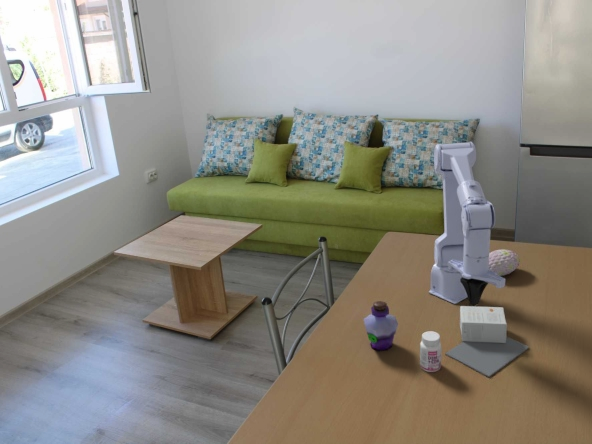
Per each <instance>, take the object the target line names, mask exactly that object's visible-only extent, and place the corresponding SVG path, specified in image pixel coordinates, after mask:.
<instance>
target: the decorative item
mask: <svg viewBox="0 0 592 444" xmlns="http://www.w3.org/2000/svg"><path fill="white" fill-rule="evenodd" d="M520 260H521V259H520V256H519V255H518V254H517V253H516V252H514V251H512V250H511V249H510V250H509V249H504V248H502V249H496V250H493V251H491V252H489V269H490V270H491V271H493V272H494V273H496V274H497V275H499V276H500V277H503V276H506V275H510V274H511V273H512V272H514V271H515V270H517V268H518V267H519V266H520Z"/></svg>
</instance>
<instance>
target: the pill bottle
mask: <svg viewBox="0 0 592 444" xmlns="http://www.w3.org/2000/svg"><path fill="white" fill-rule="evenodd" d="M419 347H420V348H419V349H420V350H419V359H420V360H419V365H420V366H419V367H420V368H421V369H422V370H423V371H425V372H428V373H434V372H438V371H439V370H440V369H441V367H442V343H441V336H440V333H438V332H436V331H431V330H429V331H425V332H423V333H422V334H421V341H420V343H419Z"/></svg>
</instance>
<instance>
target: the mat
mask: <svg viewBox="0 0 592 444" xmlns="http://www.w3.org/2000/svg"><path fill="white" fill-rule="evenodd" d="M529 349H530V347H529V345H526V344H524V343H522V342H519V341H518V340H515V339H514V338H510V337H509V336H506V343H490V342H467V341H461V343H459V344H458V345H456V346H454V347H452V348H451V349H450V350H448V351H446V352H445V353H444V354H445V356H447V357H449V358H451V359H452V360H454V361H456V362H458V363H460V364H462V365H464V366H466V367H468V368H469V369H472V370H474V371H476V372H477V373H480V374H481V375H483V376H486V377H487V378H491V377H492V376H493V375H495V374H496V373H498V371H500V370H501V369H503V368H504V367H505V366H507V365H508V364H509V363H511V362H512V361H513V360H515V359H516V358H517V357H519V356H520V355H521V354H524V352H526V351H528V350H529Z"/></svg>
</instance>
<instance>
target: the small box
mask: <svg viewBox="0 0 592 444" xmlns="http://www.w3.org/2000/svg"><path fill="white" fill-rule="evenodd" d="M459 307H460V308H459V327H460V334H461V342H463V341H467V342H490V343H506V337H507V329H508V327H507V326H508V324H507V320H506V316H505V310H504V307H499V306H472V305H471V306H469V305H467V306H466V305H461V306H459Z"/></svg>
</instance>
